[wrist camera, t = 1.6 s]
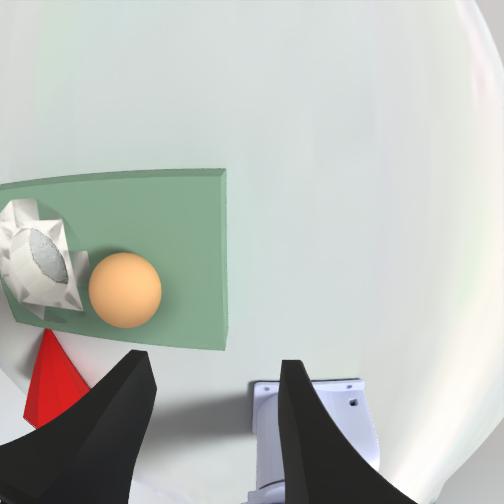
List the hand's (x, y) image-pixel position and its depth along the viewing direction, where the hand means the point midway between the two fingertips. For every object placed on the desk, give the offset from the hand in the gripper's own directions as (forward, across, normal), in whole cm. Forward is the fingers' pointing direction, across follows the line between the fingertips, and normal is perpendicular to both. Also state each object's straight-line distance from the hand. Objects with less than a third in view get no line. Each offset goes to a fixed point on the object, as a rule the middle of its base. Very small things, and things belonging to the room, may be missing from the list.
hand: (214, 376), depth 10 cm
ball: (+5, +6, 0) cm, 8 cm away
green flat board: (+10, +10, 0) cm, 14 cm away
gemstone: (+10, +18, +13) cm, 24 cm away
